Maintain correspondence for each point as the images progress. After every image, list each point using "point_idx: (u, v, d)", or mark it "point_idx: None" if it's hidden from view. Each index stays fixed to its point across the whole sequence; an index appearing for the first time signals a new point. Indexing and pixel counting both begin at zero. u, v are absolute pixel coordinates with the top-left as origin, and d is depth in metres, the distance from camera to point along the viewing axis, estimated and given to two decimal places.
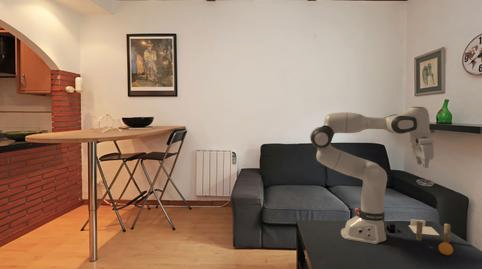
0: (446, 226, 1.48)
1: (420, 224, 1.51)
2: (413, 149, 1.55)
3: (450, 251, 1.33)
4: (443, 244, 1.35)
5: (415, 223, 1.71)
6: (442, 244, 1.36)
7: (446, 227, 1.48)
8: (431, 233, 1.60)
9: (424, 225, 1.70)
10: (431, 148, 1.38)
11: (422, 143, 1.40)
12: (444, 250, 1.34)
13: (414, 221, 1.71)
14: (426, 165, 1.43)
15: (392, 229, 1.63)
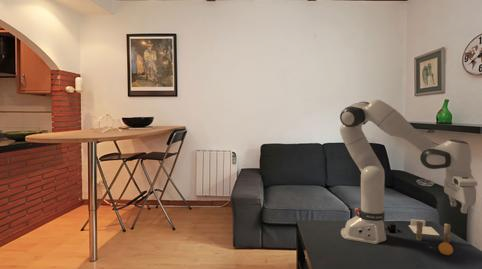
0: (446, 226, 1.48)
1: (420, 224, 1.51)
2: (446, 187, 1.33)
3: (450, 251, 1.33)
4: (443, 244, 1.35)
5: (415, 223, 1.71)
6: (442, 244, 1.36)
7: (446, 227, 1.48)
8: (431, 233, 1.60)
9: (424, 225, 1.70)
10: (473, 192, 1.17)
11: (463, 185, 1.18)
12: (444, 250, 1.34)
13: (414, 221, 1.71)
14: (464, 210, 1.21)
15: (393, 229, 1.63)
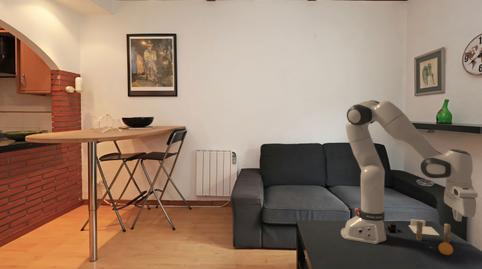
0: (446, 226, 1.48)
1: (420, 224, 1.51)
2: (446, 197, 1.31)
3: (450, 251, 1.33)
4: (443, 244, 1.35)
5: (415, 223, 1.71)
6: (442, 244, 1.36)
7: (446, 227, 1.48)
8: (431, 233, 1.60)
9: (424, 225, 1.70)
10: (473, 203, 1.15)
11: (462, 196, 1.17)
12: (444, 250, 1.34)
13: (414, 221, 1.71)
14: (459, 218, 1.24)
15: (393, 229, 1.63)
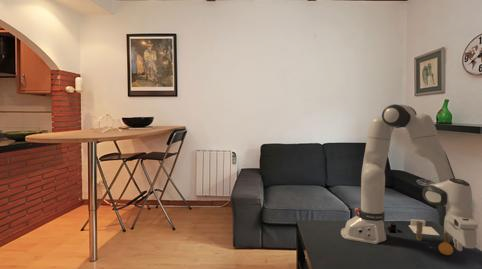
0: None
1: (420, 224, 1.51)
2: (446, 225, 1.32)
3: (450, 251, 1.33)
4: (443, 244, 1.35)
5: (415, 223, 1.71)
6: (442, 244, 1.36)
7: None
8: (431, 233, 1.60)
9: (424, 225, 1.70)
10: (474, 235, 1.16)
11: (463, 228, 1.17)
12: (444, 250, 1.34)
13: (414, 221, 1.71)
14: (460, 248, 1.24)
15: (393, 229, 1.63)
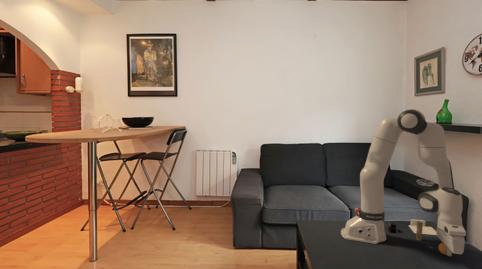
0: None
1: (420, 224, 1.51)
2: (439, 232, 1.39)
3: None
4: (443, 244, 1.36)
5: (415, 223, 1.71)
6: (442, 244, 1.36)
7: None
8: (431, 233, 1.60)
9: (424, 225, 1.70)
10: (462, 242, 1.22)
11: (452, 234, 1.24)
12: (444, 249, 1.34)
13: (414, 221, 1.71)
14: (449, 253, 1.31)
15: (393, 229, 1.63)
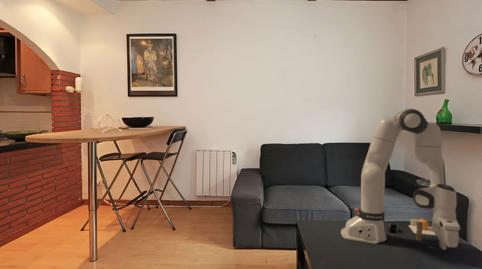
0: None
1: (420, 224, 1.51)
2: (433, 226, 1.45)
3: None
4: (422, 226, 1.65)
5: (415, 223, 1.71)
6: None
7: None
8: (431, 233, 1.60)
9: None
10: (456, 236, 1.29)
11: (447, 229, 1.30)
12: None
13: (414, 221, 1.71)
14: (444, 247, 1.37)
15: (393, 229, 1.63)
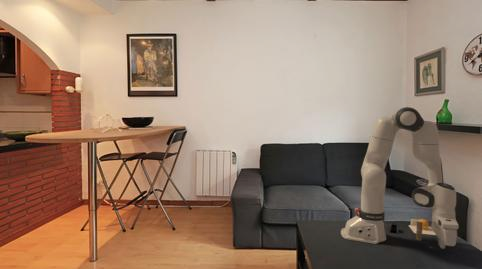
0: None
1: (420, 224, 1.51)
2: (433, 225, 1.45)
3: None
4: (422, 226, 1.65)
5: (415, 223, 1.71)
6: None
7: None
8: (431, 233, 1.60)
9: None
10: (454, 234, 1.28)
11: (445, 227, 1.30)
12: None
13: (414, 221, 1.71)
14: (442, 246, 1.37)
15: (393, 229, 1.63)
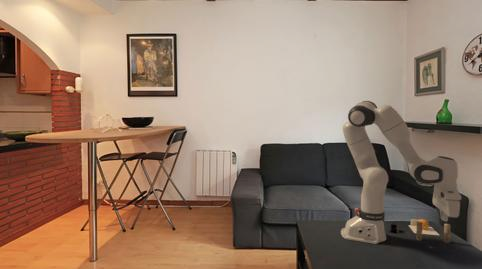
0: (446, 226, 1.48)
1: (420, 224, 1.51)
2: (435, 199, 1.44)
3: None
4: (422, 226, 1.65)
5: (415, 223, 1.71)
6: None
7: (446, 227, 1.48)
8: (431, 233, 1.60)
9: None
10: (457, 205, 1.28)
11: (448, 199, 1.29)
12: None
13: (414, 221, 1.71)
14: (445, 218, 1.37)
15: (393, 229, 1.63)
